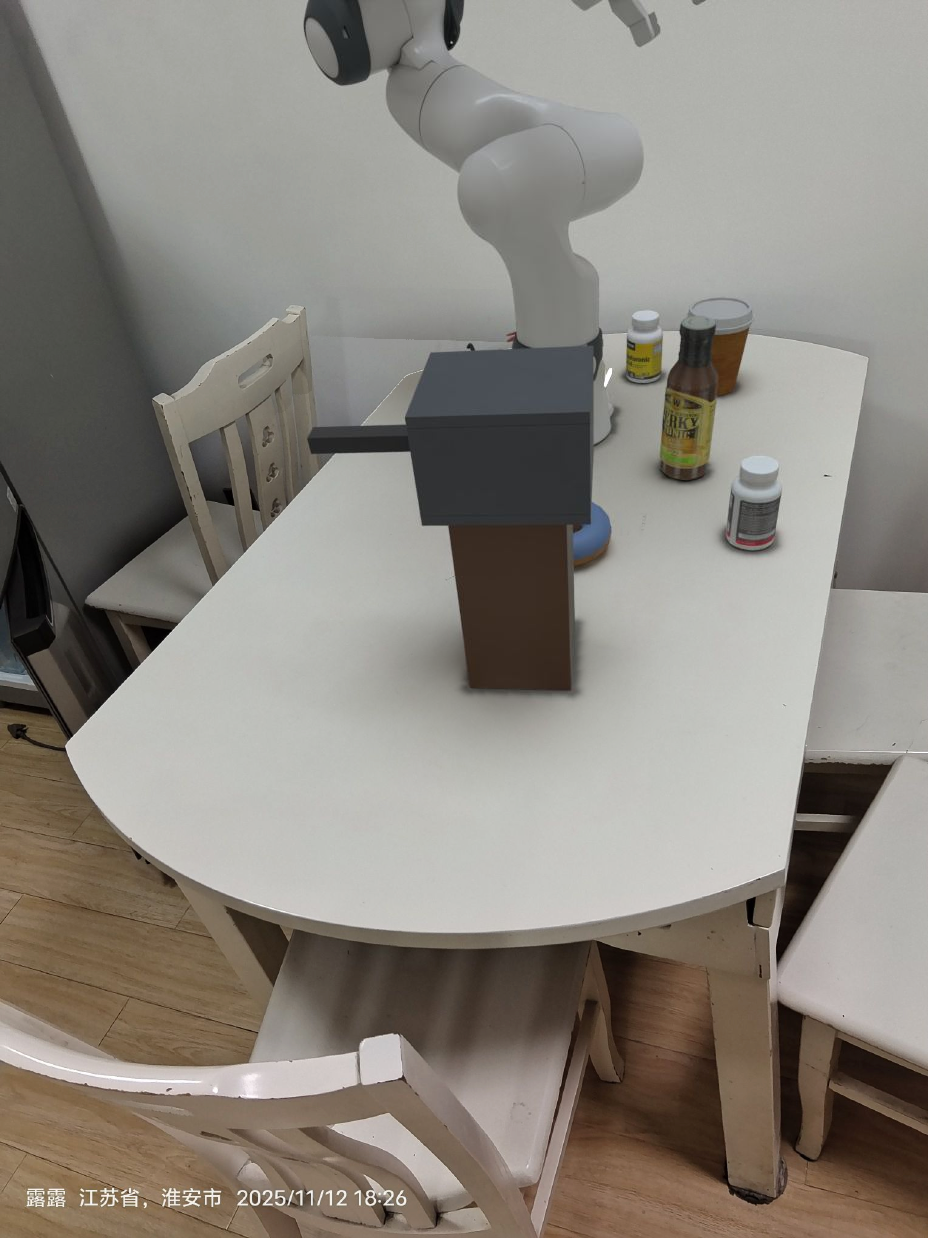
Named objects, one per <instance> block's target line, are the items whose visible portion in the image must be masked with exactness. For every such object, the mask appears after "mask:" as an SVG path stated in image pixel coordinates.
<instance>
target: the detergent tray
mask: <svg viewBox="0 0 928 1238" xmlns="http://www.w3.org/2000/svg"><path fill="white" fill-rule="evenodd" d="M306 440H307V443H308V447H309V452H310V455H325V454H326V455H328V454H329V455H330V454H331V455H333V454H371V453H372V454H375V453H379V454H380V453H410V447H409V441H408V434H407V428H406V423H405V424H377V425H376V424H375V425H343V426H341V425H340V426H338V425H337V426H336V425H335V426H313V427H312V428H311V429H310V431H309V434H308V435H307V437H306Z"/></svg>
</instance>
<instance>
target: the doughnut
mask: <svg viewBox="0 0 928 1238" xmlns="http://www.w3.org/2000/svg"><path fill="white" fill-rule="evenodd" d="M573 530H577V531H576V532H573V557H574V567H575V566H579V565H580V566H581V565H583V564H586V563H588V562H590V561H593V560H595V559H596V558H597V557H599V556H600V555H601V554H603V552H604V551H605V550H606V549H607V547H608V546H609V544H610V541H611V537H612V525H611V520H610V516H609V515H608V513H607V512H606V511H605V510H604V509H603V508H602V506H600V505H598V504H597V503H595V502H594V501H592V506H591V524H590V525H573Z"/></svg>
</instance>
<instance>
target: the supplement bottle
mask: <svg viewBox="0 0 928 1238" xmlns="http://www.w3.org/2000/svg"><path fill="white" fill-rule="evenodd" d="M659 324H660V314H659V312H657V311H656V310H649V309H648V310H644V309H643V310H638V311H636V312H634V313H632V315H631V328H629V329H628V330H627V333H626V351H625V353H626V354H625V355H626V356H625V376H626V378H627V380H628V381H631V382H633V383H637V384H649V383H653V382H655V381H657V380H658V379H659V378H660V377H661V375H662V363H663V344H664V343H663V341H664V332H663V329H662V328H661V327H660V326H659Z"/></svg>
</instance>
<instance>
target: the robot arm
mask: <svg viewBox="0 0 928 1238" xmlns="http://www.w3.org/2000/svg"><path fill="white" fill-rule="evenodd" d="M570 1H571V2H572V3H573V4H574V5H575V6H576V7H577V8H579V9H580V10H581V11H584V12H586V11H588V10H589V9H591V8H593V7H594V6H596V5H598V4H600V2H602V1H603V0H570ZM607 1H608V4H609V7H610V9H611V11H612V13H613V14H614V16H616V17H617V18H618V19H619V20H620V21H621V22H622V23H623V25H625V26H626V27H627V28H629V31H630V33H631V36H632V39H633V42H634V44H635V45H636V47H639V48H641V47H643V46H645V45H647V44H649V43H650V42H652V41H653V40H654V39H656V38H657V37H658V36H659V35H660V34H661V26H660V25H659V23H658V18H657V15H656V12H655V11H652V12H651V13H649V12H648V11H647V10H646V8H645V7H644V5H643V4H642V2H641V1H640V0H607ZM706 1H707V0H691V2H692V4H693V5H694V6H699V5H701V4H702V3H704V2H706ZM464 10H465V0H307V3H306V7H305V12H304V17H303V34H304V38H305V41H306V44H307V47H308V51H309V52H310V54H311V57H312V58H313V60H314V62H315V64H316V65H317V67H318V69H319V70H320V72H321V73H322V74H323V75H324V76H325V77H326V78H327V79H329V80H330V81H332V83H334V84H336V85H337V86H341V87H344V86H351V85H356V84H360V83H362V82H366V81H367V80H368V79H369V77H370V76H373V75H377V74H378V73H381V72H383V71H385V70H386V71H387V73H388V76H387V80H386V84H385V101H386V105H387V109H388V111H389V114H390V115H391V118H393V119H394V121H395V122H396V123H397V125H398V126H399V127H400V128H401V130H403V132H405V134H406V135H407V136H408V137H410V138H411V140H413V142H415V143H416V144H417V145H418V146H419V147H421V148H422V149H423V150H424V151H426V152H427V153H429V154H430V155H431V156H433V157H434V158H436V159H437V160H439V161H441V162H442V163H443V164H445V165H446V166H448V167H449V168H451V169H452V170H453V171H455V172H457V173H458V174H459V175H458V177H457V187H456V188H457V191H456V193H457V194H456V195H457V202H458V207H459V210H460V213H461V215H462V217H463V220H464V221H465V223H466V224H467V226H468V228H470V230H471V231H472V232H473V233H474V234H475V235H476V236H477V237H478V238H480V239H481V240H484V241H485V242H486V243H488V244H489V245H491V247H493V248H494V250H495V251H496V252H497V253H498V255H499V256H500V257H501V259H502V261H503V263H504V266H505V267H506V270H507V272H508V276H509V280H510V284H511V289H512V296H513V297H512V298H513V308H514V317H515V318H514V319H515V331H513V332H511V333H510V332H509V333H508V334H506V335H505V337H509V338H508V339H507V340H506V343H511V342H512V345H511V349H525V348H548V347H572V346H593V378H594V445H596V444H598V443H600V442H601V441H603V440H604V439H605V438H606V437H607V436H608V435H609V434H610V432H611V430H612V423H611V418H612V416H613V414H614V412H615V409H614V403H613V402H611V401H610V399H609V390H608V383H609V380H610V378H611V376H612V373H613V368H609V369H608V371H607V370H606V369H607V368H606V363H605V360H604V359H603V357H604V338H603V330H602V328H601V327H600V276H599V273H598V271H597V269H596V267H595V266H594V264H592V262H591V261H589V260H588V259H587V258H586V257H584V256H582V255H580V254H578V253H576V252H574V250H573V248H572V245H571V241H570V236H569V227H570V223H572V222H575V221H577V220H580V219H583V218H587V217H588V216H591V215H595V214H597V213H599V212H603V211H605V210H607V209H608V208H610V207H611V206H612V205H614V204H616V203H617V202H618V201H620V200H622V198H624V197H625V196H627V195H628V194H629V193H631V192H632V191H633V190H634V189H635V187H637V185H638V183H639V181H640V179H641V176H642V173H643V168H644V158H645V157H644V154H645V153H644V146H643V142H642V138H641V135H640V133H639V131H638V129H637V127H636V126H635V124H634V123H633V122H632V121H631V120H630V119H629V118H628V117H627V116H625V115H623V114H620V113H618V112H617V113H616V112H605V111H594V110H589V109H583V108H579V107H576V106H571V105H567V104H564V103H561V102H558V101H554V100H549V99H547V98H542V97H538V96H534V95H530V94H526V93H522V92H520V91H515V90H514V89H510V88H508V87H506V86H504V85H502V84H501V83H499V82H497V81H496V80H493V79H492V78H491V77H488V76H486V75H484V74H483V73H481V72H479V71H477V70H475V69H474V68H473V67H471V66H469V65H467V64H465V63H463V62H461V61H459V60H457V59H456V58H454V57H453V56H452V55H451V54H450V52H449V51H452V50H453V49H454V48H455V47H456V45H457V43H458V41H459V39H460V35H461V23H462V21H463V17H464V12H465V11H464ZM466 349H468V350H469V351H476V348H475V346H474V345H473V343H472V342H469V343H468V344H467V345H466Z"/></svg>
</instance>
